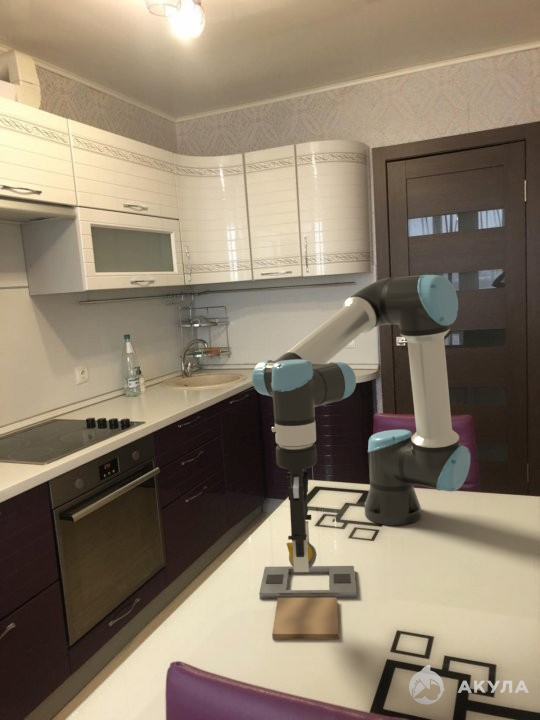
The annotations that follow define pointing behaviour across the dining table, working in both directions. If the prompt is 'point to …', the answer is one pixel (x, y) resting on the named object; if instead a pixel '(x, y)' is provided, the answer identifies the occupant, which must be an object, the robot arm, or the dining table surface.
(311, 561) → the yellow knob cap
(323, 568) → the grey rectangular frame
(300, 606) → the pad
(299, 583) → the dining table surface
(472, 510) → the dining table surface
